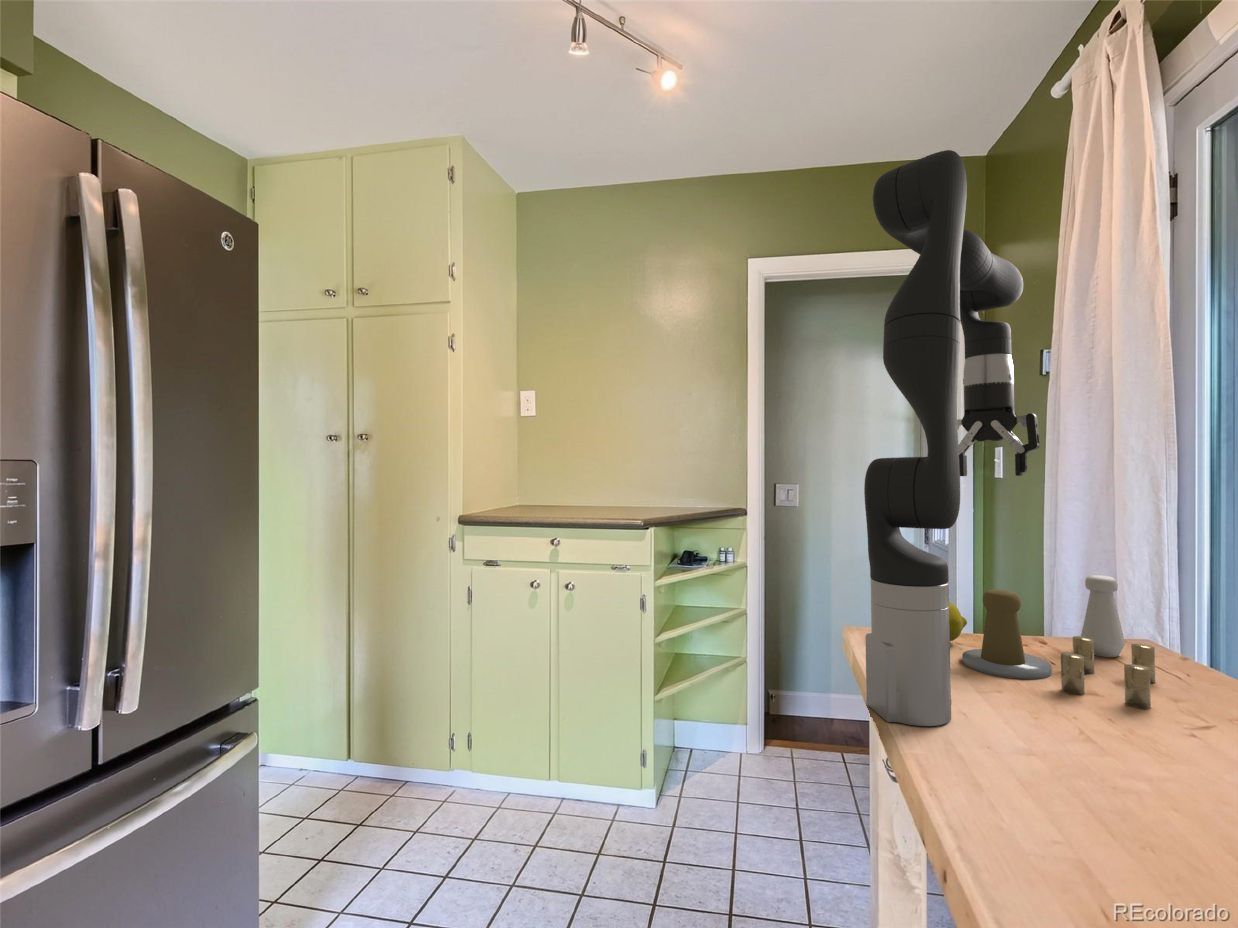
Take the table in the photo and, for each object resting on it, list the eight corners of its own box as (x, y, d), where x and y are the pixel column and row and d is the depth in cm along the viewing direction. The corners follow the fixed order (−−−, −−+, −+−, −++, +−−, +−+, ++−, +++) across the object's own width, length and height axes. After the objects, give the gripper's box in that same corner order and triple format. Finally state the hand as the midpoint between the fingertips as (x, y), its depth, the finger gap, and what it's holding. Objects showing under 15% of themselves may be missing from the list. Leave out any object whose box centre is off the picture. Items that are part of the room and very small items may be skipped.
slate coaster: (992, 679, 91) (992, 673, 91) (947, 655, 103) (947, 649, 103) (1071, 677, 91) (1071, 671, 91) (1017, 653, 103) (1016, 647, 103)
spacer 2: (1082, 673, 93) (1081, 640, 93) (1069, 668, 96) (1068, 636, 96) (1098, 673, 93) (1098, 640, 93) (1085, 667, 96) (1084, 635, 96)
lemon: (967, 640, 112) (966, 596, 112) (967, 651, 105) (966, 605, 105) (902, 633, 117) (901, 591, 117) (898, 643, 110) (897, 599, 110)
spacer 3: (1142, 683, 89) (1142, 648, 89) (1127, 677, 91) (1126, 643, 91) (1160, 682, 89) (1159, 648, 89) (1144, 676, 91) (1143, 643, 91)
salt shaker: (1127, 660, 99) (1125, 580, 99) (1083, 655, 102) (1081, 577, 102) (1121, 651, 104) (1119, 574, 104) (1079, 646, 107) (1077, 572, 107)
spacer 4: (1136, 709, 79) (1135, 670, 79) (1119, 701, 82) (1118, 664, 82) (1156, 708, 79) (1155, 670, 79) (1138, 701, 82) (1137, 663, 82)
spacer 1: (1071, 694, 85) (1070, 658, 85) (1057, 688, 87) (1056, 653, 87) (1089, 694, 85) (1088, 658, 85) (1074, 687, 87) (1074, 652, 87)
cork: (1032, 666, 94) (1030, 594, 94) (988, 664, 95) (987, 593, 95) (1016, 654, 100) (1014, 587, 100) (975, 652, 101) (973, 586, 101)
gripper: (1041, 380, 104) (1043, 475, 104) (949, 389, 114) (951, 475, 114) (1032, 376, 99) (1034, 476, 99) (937, 385, 109) (939, 476, 109)
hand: (990, 476), depth 106 cm, fingers open, 8 cm apart
